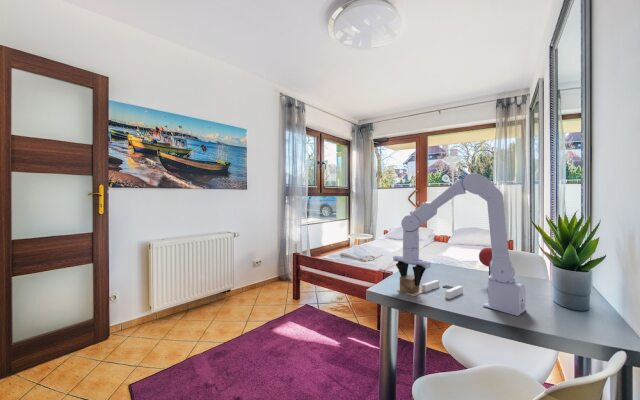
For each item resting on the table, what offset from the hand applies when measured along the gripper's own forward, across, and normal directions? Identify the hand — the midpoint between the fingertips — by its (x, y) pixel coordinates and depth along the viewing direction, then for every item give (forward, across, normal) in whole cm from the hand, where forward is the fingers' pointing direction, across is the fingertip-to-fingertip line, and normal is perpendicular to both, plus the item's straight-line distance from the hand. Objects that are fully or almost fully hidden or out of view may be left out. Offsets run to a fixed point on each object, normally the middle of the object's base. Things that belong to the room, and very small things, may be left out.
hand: (410, 283), depth 100 cm
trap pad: (+3, -8, -16) cm, 18 cm away
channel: (+3, -8, -9) cm, 12 cm away
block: (+2, 0, +1) cm, 3 cm away
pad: (+3, 0, 0) cm, 3 cm away
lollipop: (+3, -14, -34) cm, 37 cm away
